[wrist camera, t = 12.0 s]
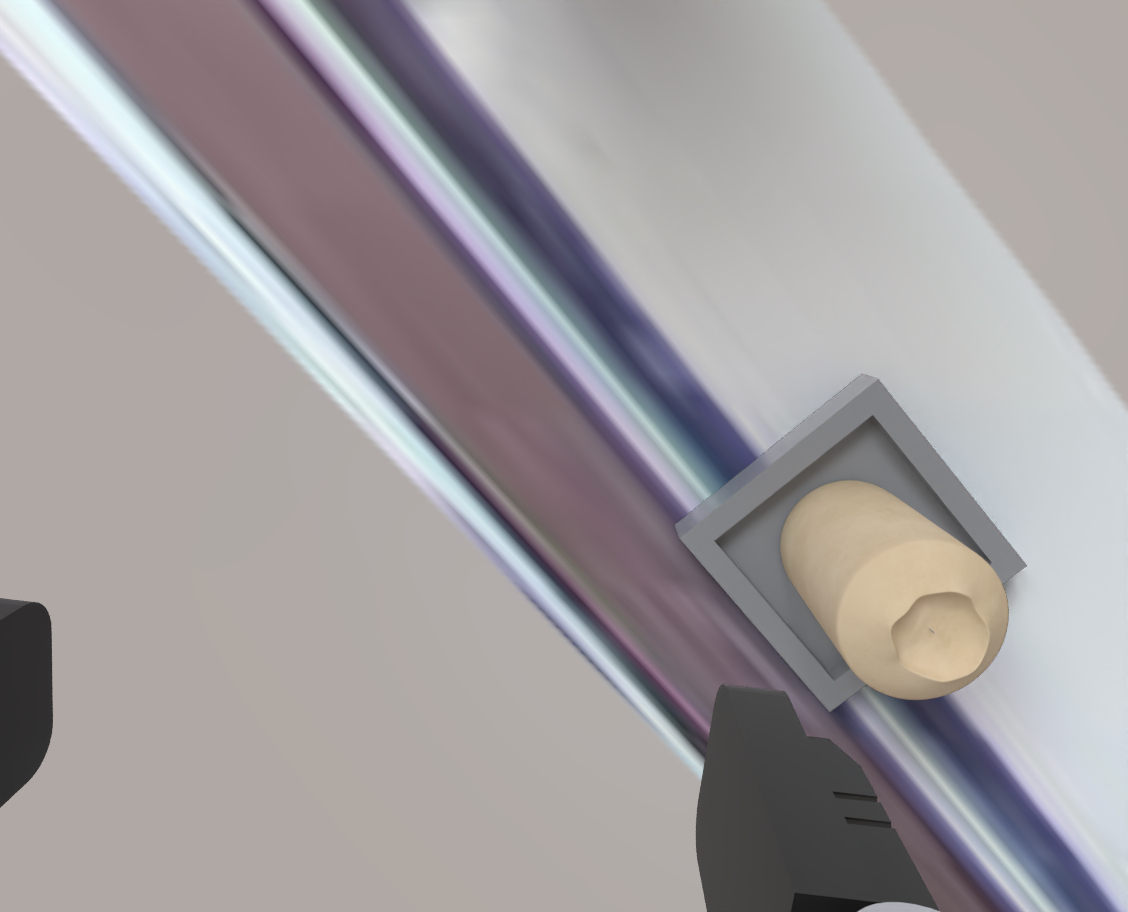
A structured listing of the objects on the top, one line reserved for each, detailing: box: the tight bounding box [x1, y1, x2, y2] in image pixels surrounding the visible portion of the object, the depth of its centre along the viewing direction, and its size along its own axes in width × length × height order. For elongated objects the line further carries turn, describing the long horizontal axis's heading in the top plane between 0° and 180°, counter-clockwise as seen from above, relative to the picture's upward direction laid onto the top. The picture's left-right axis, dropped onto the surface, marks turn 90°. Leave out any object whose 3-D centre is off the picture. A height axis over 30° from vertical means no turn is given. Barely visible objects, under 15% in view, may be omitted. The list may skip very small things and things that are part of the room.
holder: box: [675, 374, 1027, 712], centre depth 37 cm, size 10×10×2 cm
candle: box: [780, 480, 1009, 700], centre depth 32 cm, size 6×6×10 cm
